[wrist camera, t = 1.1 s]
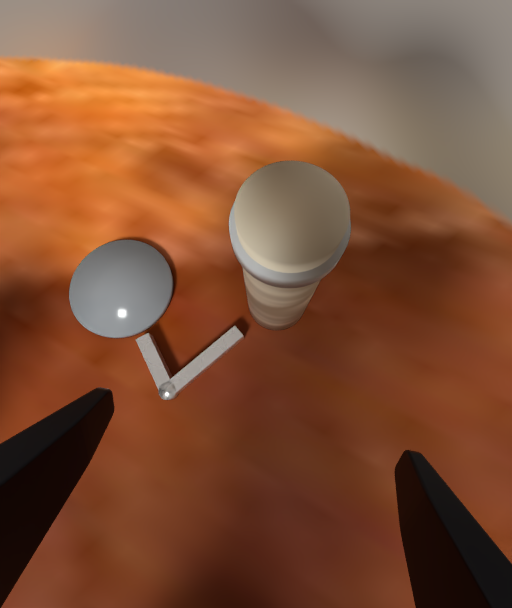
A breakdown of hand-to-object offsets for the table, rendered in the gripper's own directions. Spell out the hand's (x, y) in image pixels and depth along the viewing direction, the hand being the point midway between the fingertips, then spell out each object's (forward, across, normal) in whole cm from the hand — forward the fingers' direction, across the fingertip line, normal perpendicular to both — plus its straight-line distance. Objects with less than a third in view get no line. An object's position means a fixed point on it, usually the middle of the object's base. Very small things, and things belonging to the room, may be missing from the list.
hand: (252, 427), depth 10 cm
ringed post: (+15, 0, +4) cm, 15 cm away
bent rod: (+12, +5, +7) cm, 15 cm away
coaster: (+14, +12, +5) cm, 19 cm away
